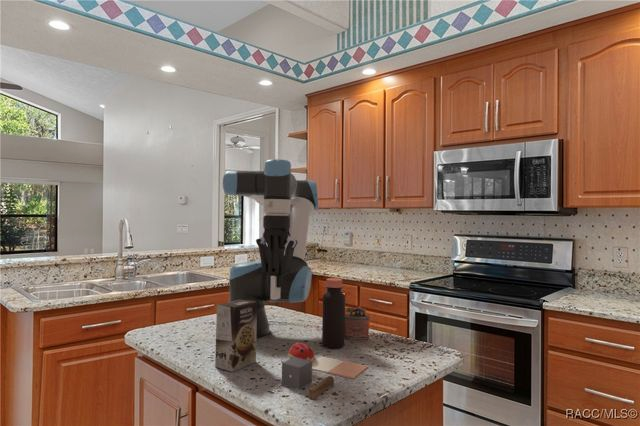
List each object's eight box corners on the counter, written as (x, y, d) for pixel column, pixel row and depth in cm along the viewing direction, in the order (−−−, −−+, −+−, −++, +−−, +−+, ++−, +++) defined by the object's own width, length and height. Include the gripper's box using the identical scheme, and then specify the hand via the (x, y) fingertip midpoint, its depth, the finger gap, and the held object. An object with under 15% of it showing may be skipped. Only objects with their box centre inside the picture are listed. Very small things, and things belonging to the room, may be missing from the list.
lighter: (368, 338, 133) (369, 307, 133) (369, 341, 130) (369, 309, 130) (343, 337, 134) (344, 306, 134) (343, 340, 131) (343, 308, 131)
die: (298, 390, 93) (281, 384, 96) (311, 382, 97) (294, 377, 100) (299, 367, 93) (281, 362, 96) (312, 361, 97) (294, 356, 100)
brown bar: (308, 397, 89) (309, 389, 89) (329, 383, 97) (329, 375, 97) (313, 399, 88) (313, 390, 88) (333, 384, 96) (333, 376, 96)
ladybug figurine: (305, 351, 118) (305, 339, 118) (321, 362, 109) (321, 349, 109) (283, 355, 115) (283, 342, 115) (298, 366, 106) (298, 352, 106)
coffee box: (232, 372, 102) (234, 307, 102) (214, 367, 106) (215, 303, 106) (257, 361, 110) (258, 301, 110) (239, 357, 114) (240, 298, 114)
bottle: (322, 342, 128) (323, 277, 129) (344, 342, 128) (345, 277, 128) (321, 349, 122) (322, 280, 122) (344, 349, 121) (345, 281, 122)
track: (281, 362, 110) (281, 361, 110) (299, 352, 118) (299, 351, 118) (353, 378, 100) (353, 377, 100) (368, 367, 107) (368, 366, 107)
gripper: (250, 214, 117) (248, 298, 117) (288, 215, 110) (287, 303, 110) (266, 214, 123) (264, 294, 123) (303, 215, 117) (302, 299, 117)
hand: (275, 298), depth 117 cm, fingers closed
